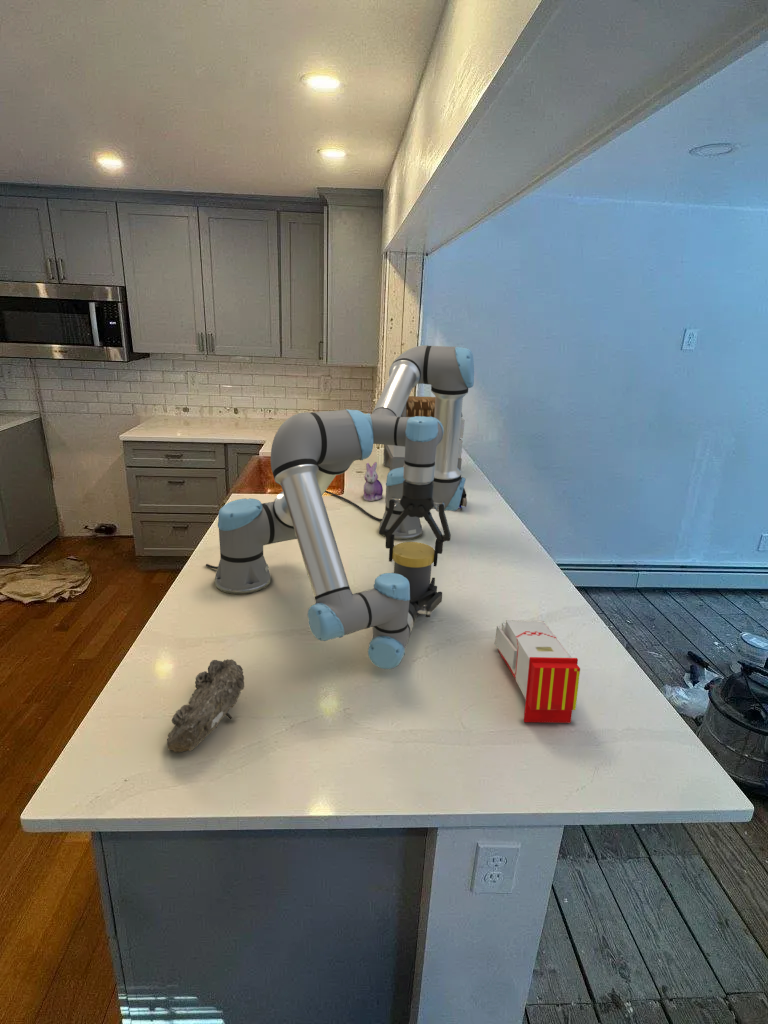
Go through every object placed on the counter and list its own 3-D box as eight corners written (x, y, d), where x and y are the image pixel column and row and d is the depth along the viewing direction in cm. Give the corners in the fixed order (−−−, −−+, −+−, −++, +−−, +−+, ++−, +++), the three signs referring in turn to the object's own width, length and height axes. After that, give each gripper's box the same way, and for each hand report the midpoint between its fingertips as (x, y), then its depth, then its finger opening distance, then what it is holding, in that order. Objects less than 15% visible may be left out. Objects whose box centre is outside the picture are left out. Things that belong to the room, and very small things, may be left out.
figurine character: (467, 515, 225) (461, 499, 238) (469, 498, 221) (463, 482, 235) (450, 514, 224) (445, 498, 238) (452, 497, 221) (447, 482, 234)
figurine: (367, 502, 230) (368, 467, 225) (357, 495, 238) (358, 460, 233) (388, 500, 234) (389, 465, 229) (377, 492, 242) (378, 458, 237)
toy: (541, 605, 135) (589, 664, 106) (536, 657, 138) (581, 729, 108) (490, 604, 135) (524, 663, 105) (486, 656, 137) (518, 728, 108)
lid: (383, 559, 146) (384, 550, 145) (408, 546, 154) (408, 538, 153) (418, 571, 139) (419, 562, 139) (442, 558, 148) (443, 549, 147)
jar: (384, 605, 152) (387, 550, 146) (410, 594, 158) (413, 541, 152) (409, 619, 145) (413, 562, 140) (435, 608, 151) (440, 553, 146)
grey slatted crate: (382, 463, 289) (386, 382, 275) (445, 464, 293) (451, 384, 279) (390, 482, 257) (394, 392, 243) (460, 483, 261) (468, 394, 247)
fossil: (192, 660, 117) (244, 628, 112) (224, 691, 120) (276, 661, 115) (142, 746, 98) (202, 712, 93) (182, 779, 101) (242, 748, 96)
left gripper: (351, 627, 136) (373, 586, 157) (444, 641, 132) (454, 597, 153) (352, 599, 134) (374, 561, 154) (446, 613, 129) (456, 572, 150)
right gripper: (466, 480, 141) (458, 560, 149) (374, 472, 145) (371, 551, 152) (465, 489, 134) (457, 572, 142) (369, 480, 138) (366, 563, 145)
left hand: (414, 579), depth 153 cm, fingers closed on jar, 10 cm apart
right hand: (413, 561), depth 147 cm, fingers closed on lid, 11 cm apart
